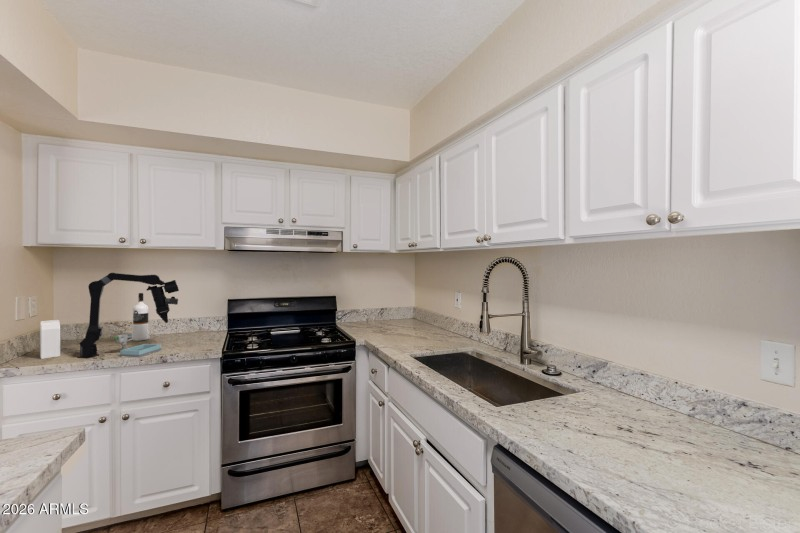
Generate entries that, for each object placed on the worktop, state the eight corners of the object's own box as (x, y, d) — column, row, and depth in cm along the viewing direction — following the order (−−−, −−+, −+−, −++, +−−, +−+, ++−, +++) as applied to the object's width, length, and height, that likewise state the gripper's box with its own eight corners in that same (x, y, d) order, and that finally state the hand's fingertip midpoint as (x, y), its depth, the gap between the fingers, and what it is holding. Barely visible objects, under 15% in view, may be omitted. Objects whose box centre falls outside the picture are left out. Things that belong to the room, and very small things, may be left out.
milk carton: (60, 356, 188) (60, 320, 188) (41, 359, 182) (41, 322, 182) (58, 354, 193) (58, 319, 192) (40, 356, 187) (40, 320, 187)
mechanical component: (134, 350, 202) (134, 332, 202) (118, 355, 192) (118, 336, 192) (129, 350, 202) (129, 332, 202) (113, 354, 192) (113, 336, 192)
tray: (120, 356, 189) (120, 350, 189) (143, 349, 204) (143, 344, 204) (139, 357, 188) (139, 351, 188) (161, 350, 203) (161, 344, 203)
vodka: (153, 338, 233) (153, 292, 233) (138, 341, 224) (139, 293, 224) (142, 337, 236) (142, 292, 235) (128, 340, 227) (128, 293, 227)
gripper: (175, 293, 202) (183, 319, 204) (174, 290, 217) (181, 315, 220) (152, 298, 196) (160, 325, 198) (152, 296, 211) (160, 321, 214)
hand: (166, 321), depth 208 cm, fingers open, 9 cm apart
